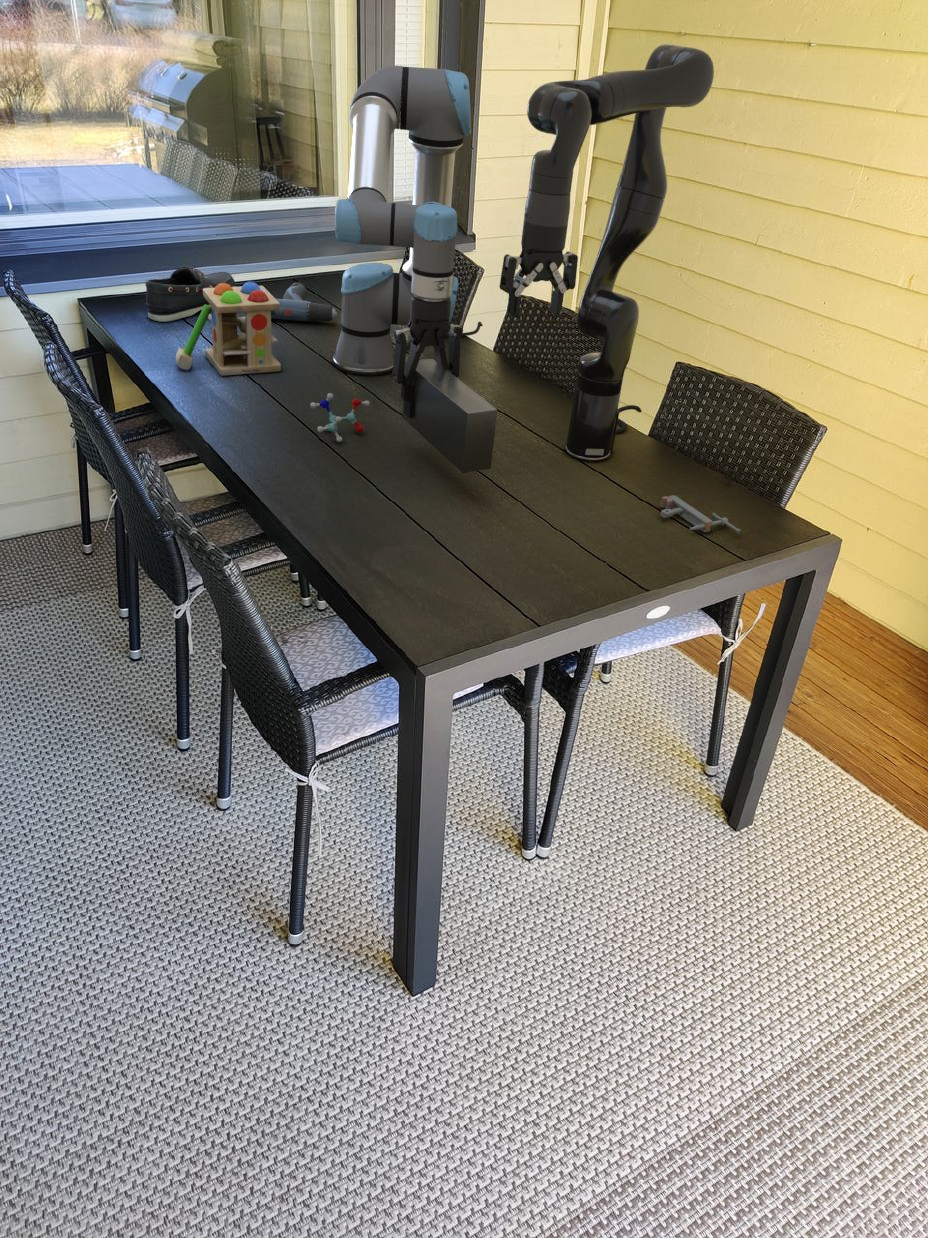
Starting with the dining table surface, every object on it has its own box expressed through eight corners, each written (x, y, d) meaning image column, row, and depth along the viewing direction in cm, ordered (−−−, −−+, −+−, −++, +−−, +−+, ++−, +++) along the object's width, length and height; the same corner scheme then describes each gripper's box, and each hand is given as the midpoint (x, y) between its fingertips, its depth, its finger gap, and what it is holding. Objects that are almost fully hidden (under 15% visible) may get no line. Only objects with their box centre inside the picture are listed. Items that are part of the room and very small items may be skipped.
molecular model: (357, 434, 195) (340, 385, 194) (317, 449, 199) (300, 401, 197) (380, 430, 206) (364, 384, 204) (342, 444, 209) (326, 399, 208)
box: (401, 417, 197) (404, 361, 190) (428, 413, 199) (432, 358, 192) (462, 473, 178) (467, 413, 171) (491, 468, 181) (497, 409, 174)
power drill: (344, 304, 276) (335, 327, 259) (277, 298, 275) (264, 321, 258) (344, 285, 273) (335, 306, 256) (277, 279, 272) (264, 300, 255)
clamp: (649, 498, 185) (689, 490, 190) (647, 509, 187) (687, 500, 191) (702, 536, 175) (743, 526, 179) (699, 546, 176) (740, 536, 181)
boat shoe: (254, 300, 273) (252, 262, 268) (165, 323, 249) (160, 282, 244) (221, 292, 279) (218, 254, 273) (130, 314, 255) (125, 273, 250)
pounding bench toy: (183, 379, 220) (176, 299, 210) (169, 357, 231) (162, 280, 221) (282, 371, 230) (280, 294, 220) (264, 350, 240) (262, 276, 230)
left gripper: (392, 305, 174) (387, 426, 187) (485, 298, 182) (474, 415, 196) (375, 292, 180) (371, 411, 193) (467, 286, 188) (457, 401, 201)
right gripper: (521, 225, 160) (510, 324, 169) (593, 223, 166) (579, 318, 175) (498, 214, 166) (489, 310, 175) (569, 212, 172) (556, 305, 181)
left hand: (423, 413), depth 194 cm, fingers closed on box, 6 cm apart
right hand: (534, 314), depth 175 cm, fingers open, 8 cm apart
